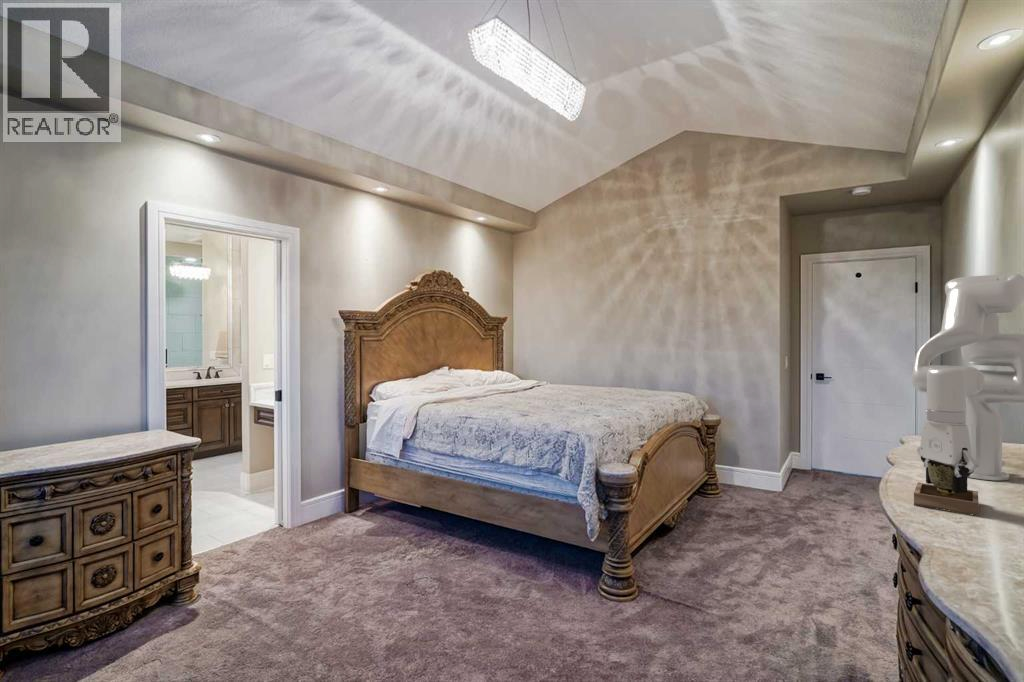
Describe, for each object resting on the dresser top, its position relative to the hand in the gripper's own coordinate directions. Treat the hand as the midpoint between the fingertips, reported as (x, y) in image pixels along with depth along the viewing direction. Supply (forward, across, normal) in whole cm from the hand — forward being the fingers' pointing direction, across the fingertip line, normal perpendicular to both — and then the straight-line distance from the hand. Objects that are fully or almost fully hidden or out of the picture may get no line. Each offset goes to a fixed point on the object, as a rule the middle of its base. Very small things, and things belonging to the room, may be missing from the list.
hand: (946, 487), depth 129 cm
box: (+4, 0, 0) cm, 4 cm away
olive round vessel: (+2, 0, 0) cm, 2 cm away
